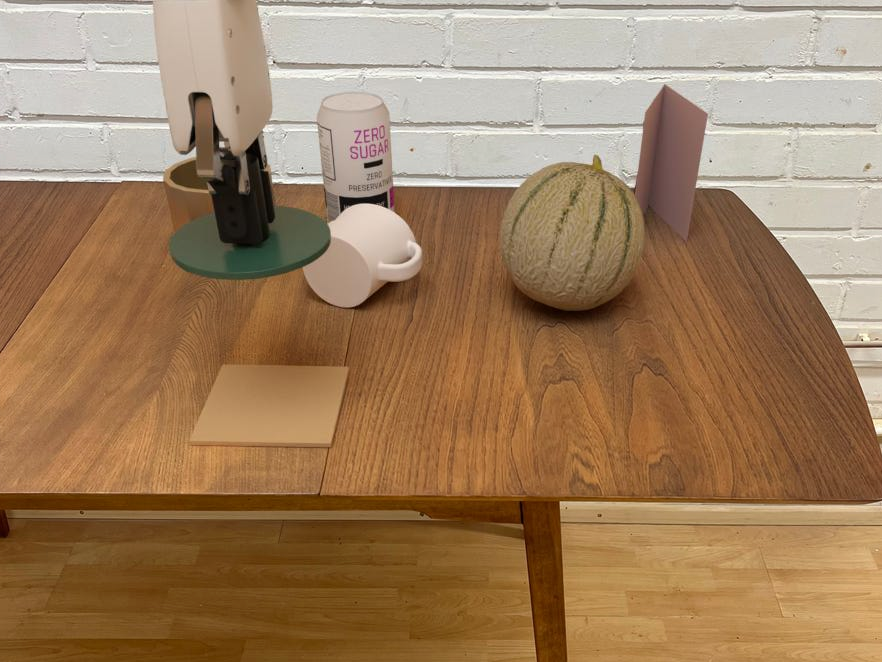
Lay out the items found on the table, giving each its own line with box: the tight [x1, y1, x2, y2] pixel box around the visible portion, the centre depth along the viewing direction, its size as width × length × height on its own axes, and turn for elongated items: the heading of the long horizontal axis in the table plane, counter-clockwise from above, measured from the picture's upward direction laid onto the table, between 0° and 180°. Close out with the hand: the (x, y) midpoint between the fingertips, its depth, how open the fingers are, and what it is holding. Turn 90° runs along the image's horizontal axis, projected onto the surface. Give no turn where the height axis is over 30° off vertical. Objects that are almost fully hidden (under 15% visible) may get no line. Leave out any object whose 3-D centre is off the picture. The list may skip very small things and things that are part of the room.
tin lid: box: [168, 153, 331, 281], centre depth 68 cm, size 12×12×7 cm
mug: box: [302, 204, 423, 308], centre depth 94 cm, size 12×9×8 cm
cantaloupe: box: [499, 154, 646, 312], centre depth 91 cm, size 15×15×15 cm
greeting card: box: [633, 83, 709, 243], centre depth 106 cm, size 11×7×15 cm, turn 160°
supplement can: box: [316, 91, 396, 224], centre depth 104 cm, size 8×8×15 cm
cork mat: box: [188, 364, 350, 448], centre depth 80 cm, size 12×12×1 cm
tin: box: [162, 156, 277, 233], centre depth 101 cm, size 11×11×10 cm
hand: (248, 229), depth 69 cm, fingers closed on tin lid, 3 cm apart
